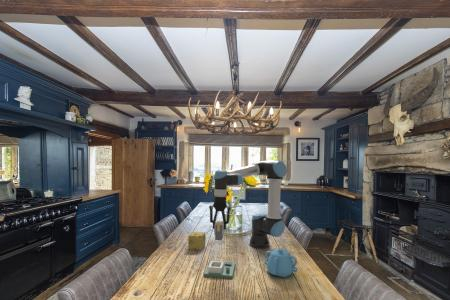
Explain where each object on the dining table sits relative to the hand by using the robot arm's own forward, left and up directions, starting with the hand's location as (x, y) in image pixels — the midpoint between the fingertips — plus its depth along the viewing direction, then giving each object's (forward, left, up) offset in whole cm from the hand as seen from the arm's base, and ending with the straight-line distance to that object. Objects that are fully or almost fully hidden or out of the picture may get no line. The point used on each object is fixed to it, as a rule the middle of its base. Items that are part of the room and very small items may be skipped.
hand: (219, 234), depth 149 cm
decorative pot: (-36, +1, -20) cm, 42 cm away
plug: (0, 0, -3) cm, 3 cm away
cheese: (+22, -30, -20) cm, 42 cm away
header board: (-1, +3, -20) cm, 20 cm away
